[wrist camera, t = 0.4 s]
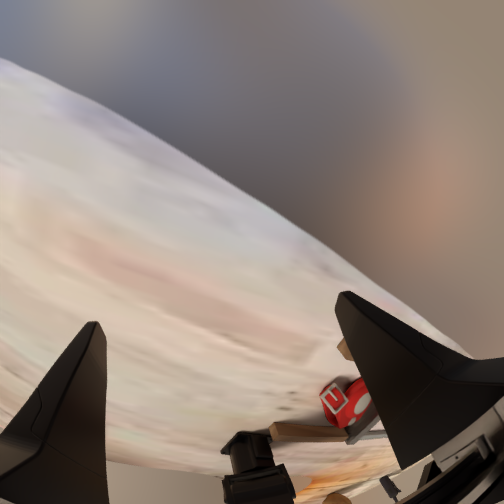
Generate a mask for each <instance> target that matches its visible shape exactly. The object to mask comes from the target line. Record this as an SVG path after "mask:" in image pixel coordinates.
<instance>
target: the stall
mask: <svg viewBox="0 0 504 504" xmlns="http://www.w3.org/2000/svg"><path fill="white" fill-rule="evenodd" d="M337 348H338V350H339V351H340V352H341V354H342V355H343V356H344V358H345V359H346V360H350V361H354V360H353V357H352V355H351V353H350V351H349V349H348V347H347V344H346V342H345V339H344V338H343V339H342V341H341V342H340V344H339V345H338V346H337ZM269 430H270V433H271V436H272V439H273V441H289V442H344V441H345V440H346V439H347V438H348V437H349V436H348V434H347V433H346V431H345V429H344V428H341V429H339V428H338V427H328V426H309V425H296V424H285V423H276V422H274V423H273V424H272V425H271V426H270V427H269Z"/></svg>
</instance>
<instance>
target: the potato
mask: <svg viewBox="0 0 504 504" xmlns="http://www.w3.org/2000/svg"><path fill="white" fill-rule="evenodd" d="M322 504H352V503H351V501H350V500H349V499H348V498H347V497H345V496H343V495H341V494H337V493H332V494H330V495H328V496H327V498H326V499H325V500H324V501H323V503H322Z"/></svg>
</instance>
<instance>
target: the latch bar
mask: <svg viewBox="0 0 504 504" xmlns="http://www.w3.org/2000/svg"><path fill="white" fill-rule="evenodd" d="M379 420H380V417H379V415H378V412H377V410H376V408H375V406H374V403H373V401H372V402H371V403H370V405H369V406H368V408H367V409H366V411H365V412H364V414H363V415H362V417H361V418H360V419H359V420H358V421H357V422H355V423H353V424H351V425H348V426H347V427H346V428H345V431H346V433H347V434H348V436H349V437H348V438H347V439H346V440H345V442H346V444H347V445H352V444H355V443H356V442H357V441H359V440H360V439H361V438H362V437H363V436H364V435H365V434H366V433H367V432H368V431H369V430H370V429H371V428H372V427H373V426H374V425H375V424H376V423H377V422H378V421H379Z"/></svg>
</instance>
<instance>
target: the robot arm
mask: <svg viewBox="0 0 504 504" xmlns="http://www.w3.org/2000/svg"><path fill="white" fill-rule="evenodd" d="M335 314H336V317H337V319H338V322H339V325H340V328H341V331H342V333H343V336H344V339H345V342H346V344H347V347H348V349H349V351H350V353H351V355H352V357H353V360H354V362H355V364H356V366H357V368H358V370H359V372H360V375H361V377H362V379H363V381H364V383H365V385H366V388H367V390H368V392H369V394H370V397H371V399H372V401H373V403H374V406H375V408H376V410H377V412H378V415H379V417H380V419H381V422H382V424H383V426H384V429H385V431H386V434H387V436H388V439H389V441H390V443H391V446H392V448H393V451H394V453H395V456H396V458H397V461H398V463H399V466H400V468H401V470H403V469H405V468H407V467H409V466H411V465H412V464H414V463H416V462H418V461H419V460H421V459H423V458H424V457H426V456H428V455H429V454H431V455H432V457H433V458H434V460H433V461H431V462H430V463H428V464H427V465H425V467H424V470H423V473H422V476H421V479H420V483H419V485H418V488H417V491H415V492H413V493H412V494H410V495H409V496H407V497H405V498H404V499H402V500H401V501H398V502H397V503H395V504H495V503H498V502H500V501H502V500H504V357H502V358H494V359H485V360H475V359H471V358H468V357H466V356H464V355H462V354H460V353H458V352H456V351H454V350H452V349H450V348H447V347H445V346H444V345H442V344H440V343H438V342H436V341H434V340H432V339H431V338H429V337H427V336H426V335H424V334H422V333H421V332H419V331H417V330H416V329H414V328H412V327H411V326H409V325H407V324H405V323H404V322H402V321H400V320H399V319H397V318H395V317H394V316H392V315H390V314H389V313H387V312H385V311H384V310H382V309H380V308H379V307H377V306H375V305H373V304H372V303H370V302H368V301H367V300H365V299H363V298H362V297H360V296H358V295H356V294H355V293H353V292H351V291H343V292H340V293H339V295H338V298H337V302H336V305H335ZM106 390H107V341H106V336H105V334H104V332H103V330H102V328H101V326H100V324H99V322H98V321H90V322H87V323H86V324H85V325H84V327H83V328H82V329H81V330H80V332H79V333H78V334H77V335H76V336H75V338H74V339H73V340H72V341H71V343H70V344H69V345H68V346H67V348H66V349H65V350H64V352H63V353H62V354H61V355H60V357H59V358H58V359H57V361H56V362H55V363H54V365H53V366H52V367H51V368H50V370H49V371H48V373H47V374H46V375H45V377H44V378H43V379H42V381H41V382H40V383H39V385H38V388H36V389H35V390H34V392H33V393H32V395H31V396H30V397H29V399H28V400H27V401H26V403H25V404H24V405H23V407H22V408H21V409H20V410H19V412H18V413H17V414H16V415H15V417H14V418H13V419H12V420H11V422H10V423H9V424H8V425H7V427H6V428H5V429H4V430H3V432H2V433H1V434H0V504H109V496H108V487H107V486H108V485H107V475H106V453H105V412H106ZM272 441H273V439H272V436H268V435H258V434H250V433H242V432H239V433H237V434H236V435H235V436H234V437H233V438H232V439H231V440H230V441H229V442H228V443H227V444H226V445H225V446H224V447H223V449H222V450H221V451H220V452H221V454H225V455H230V459H231V464H232V468H233V473H234V475H224V477H225V479H223V480H222V484H223V490H224V502H225V503H226V504H294V501H293V499H294V498H296V494H295V490H294V487H293V484H292V482H291V479H290V477H289V475H288V473H287V470H286V468H285V466H284V464H280V465H277V466H275V463H274V460H273V453H272V451H271V448H270V445H269V444H270V443H271V442H272Z"/></svg>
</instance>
